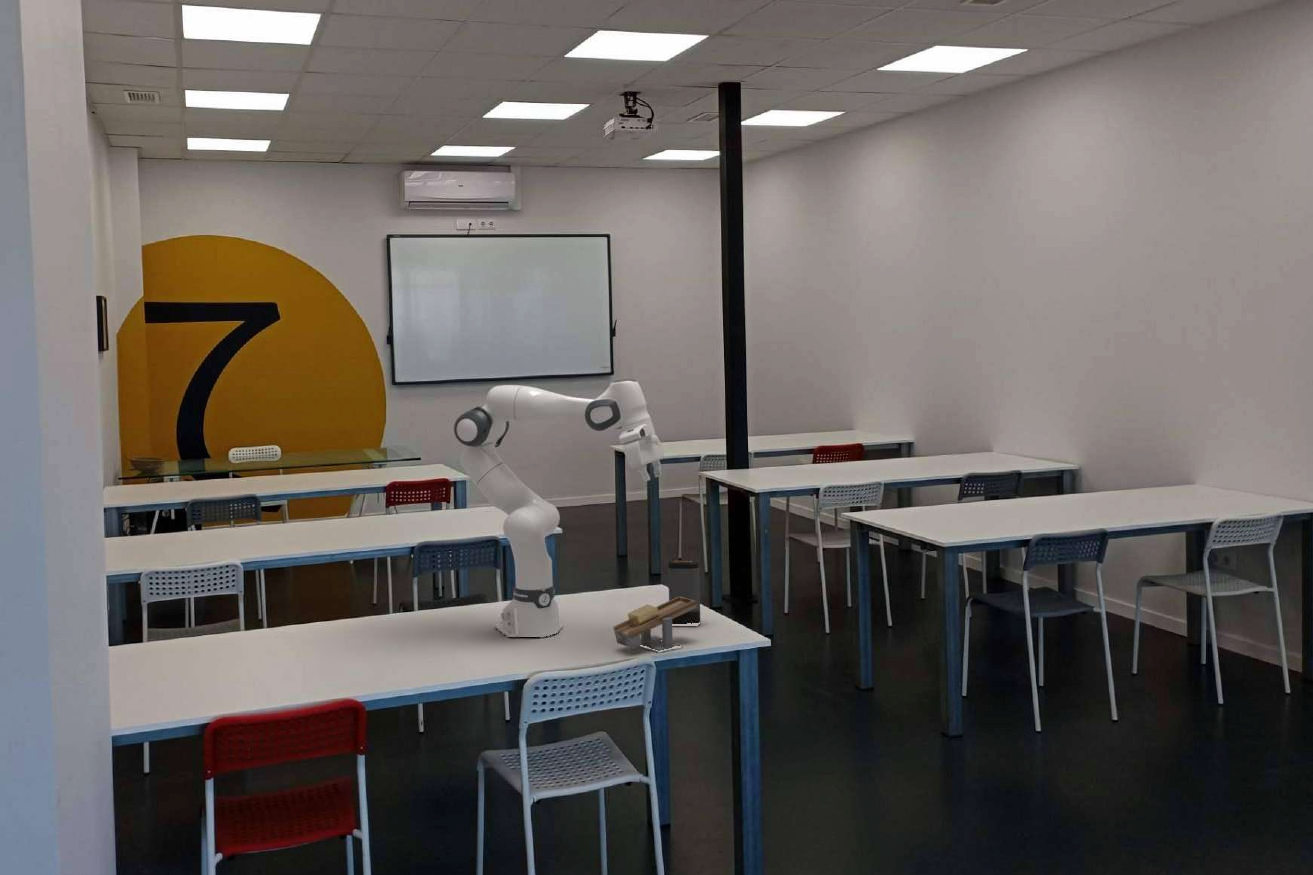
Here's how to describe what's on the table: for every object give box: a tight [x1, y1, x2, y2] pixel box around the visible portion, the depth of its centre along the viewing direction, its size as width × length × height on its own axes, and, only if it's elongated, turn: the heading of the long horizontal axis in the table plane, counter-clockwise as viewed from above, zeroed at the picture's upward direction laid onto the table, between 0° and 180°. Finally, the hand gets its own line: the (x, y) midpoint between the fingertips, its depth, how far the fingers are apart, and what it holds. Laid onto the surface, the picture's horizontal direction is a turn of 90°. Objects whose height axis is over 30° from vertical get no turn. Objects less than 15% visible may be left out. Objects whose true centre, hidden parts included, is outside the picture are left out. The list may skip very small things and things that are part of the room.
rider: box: [627, 604, 659, 627], centre depth 319 cm, size 5×7×4 cm
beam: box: [613, 596, 697, 650], centre depth 322 cm, size 8×24×5 cm, turn 126°
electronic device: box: [667, 558, 701, 624], centre depth 345 cm, size 9×6×20 cm, turn 84°
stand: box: [640, 617, 682, 651], centre depth 322 cm, size 13×8×9 cm, turn 36°
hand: (653, 478), depth 324 cm, fingers open, 8 cm apart
